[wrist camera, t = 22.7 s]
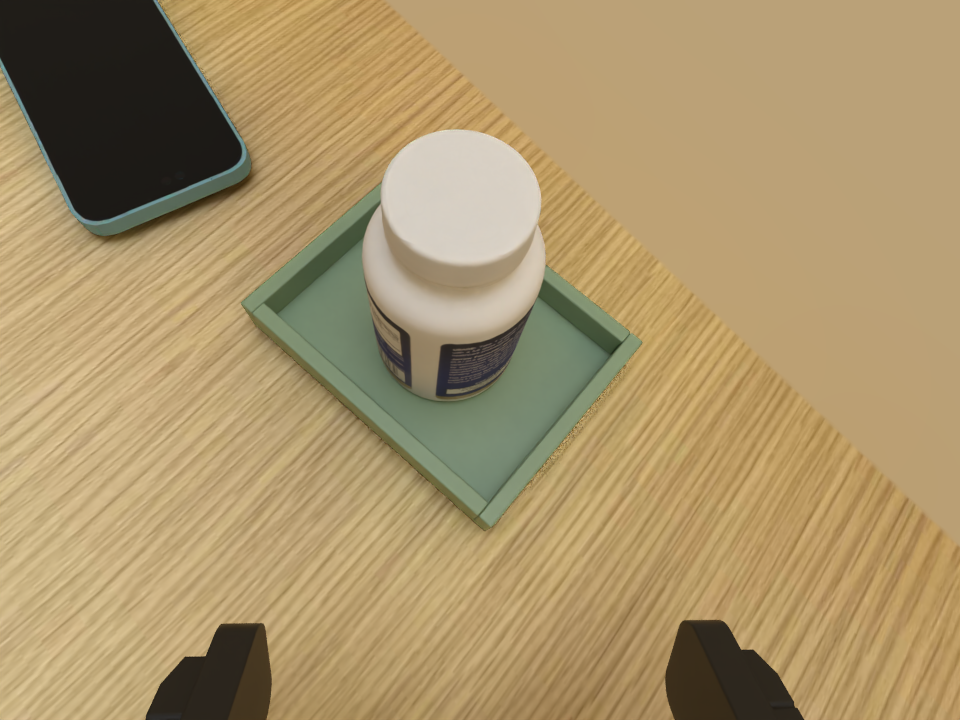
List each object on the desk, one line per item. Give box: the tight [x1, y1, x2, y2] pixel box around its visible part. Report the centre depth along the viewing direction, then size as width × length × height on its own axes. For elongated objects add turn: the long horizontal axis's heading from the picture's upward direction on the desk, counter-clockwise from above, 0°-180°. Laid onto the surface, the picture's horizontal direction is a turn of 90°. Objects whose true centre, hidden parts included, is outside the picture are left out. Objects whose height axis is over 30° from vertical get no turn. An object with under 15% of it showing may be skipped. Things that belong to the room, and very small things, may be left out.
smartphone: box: [0, 0, 251, 236], centre depth 26 cm, size 7×1×15 cm
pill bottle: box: [362, 129, 546, 401], centre depth 19 cm, size 5×5×10 cm
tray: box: [241, 182, 642, 531], centre depth 23 cm, size 12×9×2 cm
